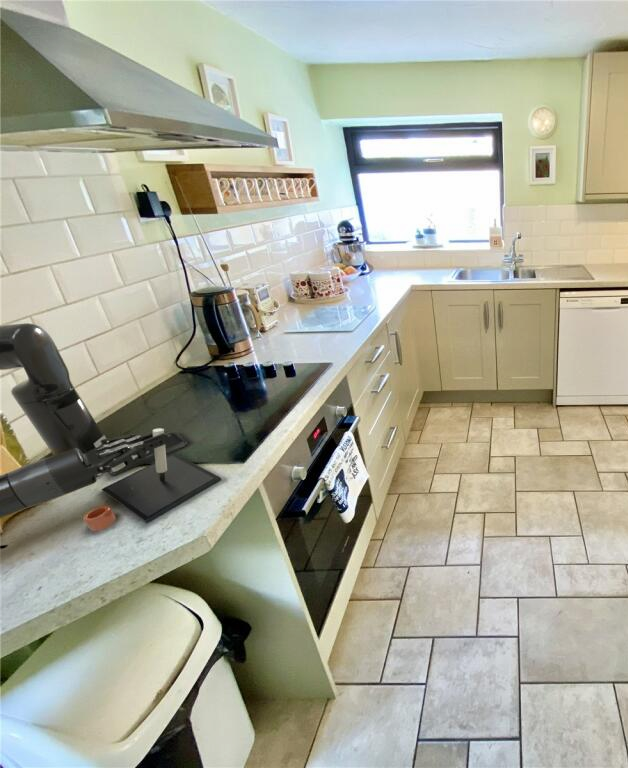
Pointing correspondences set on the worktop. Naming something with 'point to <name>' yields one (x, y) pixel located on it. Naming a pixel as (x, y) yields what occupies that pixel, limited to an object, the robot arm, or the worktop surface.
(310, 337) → the worktop surface
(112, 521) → the orange hollow cylinder
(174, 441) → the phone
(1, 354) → the robot arm
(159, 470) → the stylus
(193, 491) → the tablet
